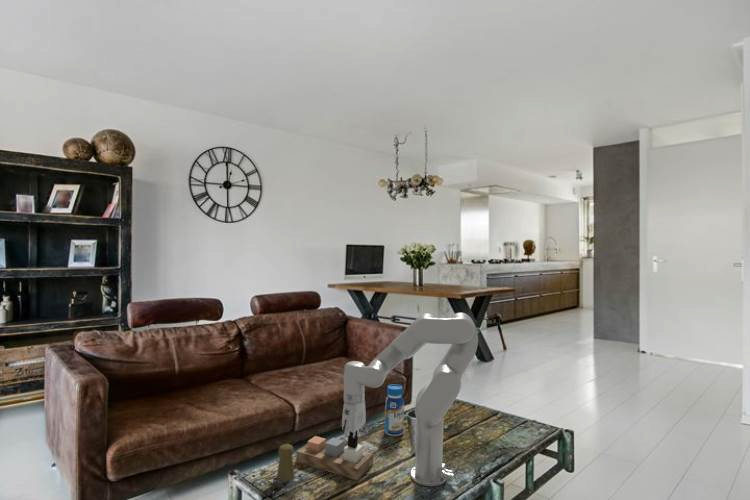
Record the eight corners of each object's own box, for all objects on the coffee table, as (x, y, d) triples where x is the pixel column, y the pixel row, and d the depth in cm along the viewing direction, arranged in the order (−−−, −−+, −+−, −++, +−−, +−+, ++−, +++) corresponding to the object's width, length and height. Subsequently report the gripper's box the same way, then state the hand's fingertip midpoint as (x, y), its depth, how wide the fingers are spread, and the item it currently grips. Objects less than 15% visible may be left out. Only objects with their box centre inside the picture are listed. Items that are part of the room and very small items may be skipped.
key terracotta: (325, 451, 164) (326, 438, 164) (318, 457, 160) (318, 444, 160) (315, 448, 166) (315, 435, 166) (307, 453, 162) (307, 441, 162)
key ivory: (362, 458, 157) (362, 445, 157) (355, 464, 153) (356, 451, 152) (350, 455, 159) (351, 442, 159) (343, 461, 155) (344, 448, 155)
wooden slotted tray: (372, 464, 159) (373, 453, 159) (357, 480, 148) (357, 468, 148) (314, 448, 171) (314, 438, 171) (296, 461, 160) (296, 451, 160)
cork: (287, 470, 154) (287, 440, 154) (298, 476, 150) (298, 445, 150) (273, 477, 149) (273, 446, 149) (284, 483, 146) (284, 451, 145)
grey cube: (343, 453, 161) (344, 440, 160) (336, 459, 156) (337, 446, 156) (332, 450, 163) (332, 437, 163) (325, 455, 158) (325, 443, 158)
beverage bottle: (392, 426, 192) (392, 382, 191) (407, 431, 187) (408, 386, 186) (380, 432, 185) (381, 386, 185) (396, 438, 180) (397, 391, 179)
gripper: (352, 405, 147) (351, 458, 147) (372, 392, 160) (371, 440, 161) (334, 401, 150) (332, 452, 151) (355, 388, 164) (353, 436, 164)
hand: (352, 446), depth 156 cm, fingers closed
